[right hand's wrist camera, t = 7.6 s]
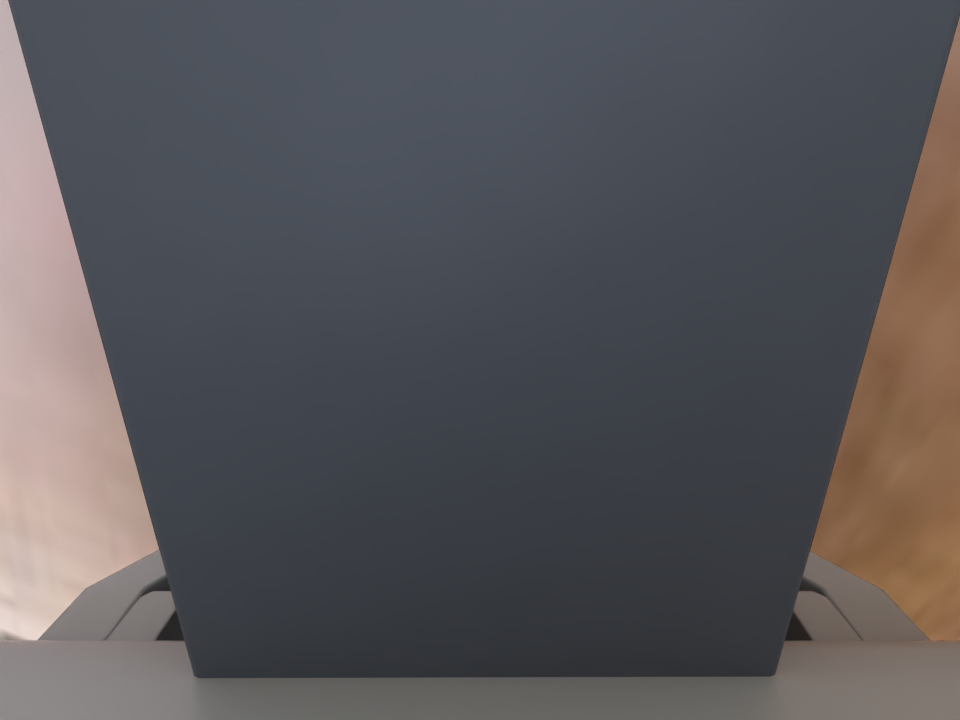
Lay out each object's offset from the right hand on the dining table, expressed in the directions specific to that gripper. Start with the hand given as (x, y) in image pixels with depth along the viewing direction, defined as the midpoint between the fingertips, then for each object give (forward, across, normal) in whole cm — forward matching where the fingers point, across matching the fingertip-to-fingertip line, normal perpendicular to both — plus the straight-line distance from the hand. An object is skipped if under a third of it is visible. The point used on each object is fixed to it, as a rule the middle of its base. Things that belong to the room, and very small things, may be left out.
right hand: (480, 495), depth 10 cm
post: (+3, 0, -20) cm, 21 cm away
